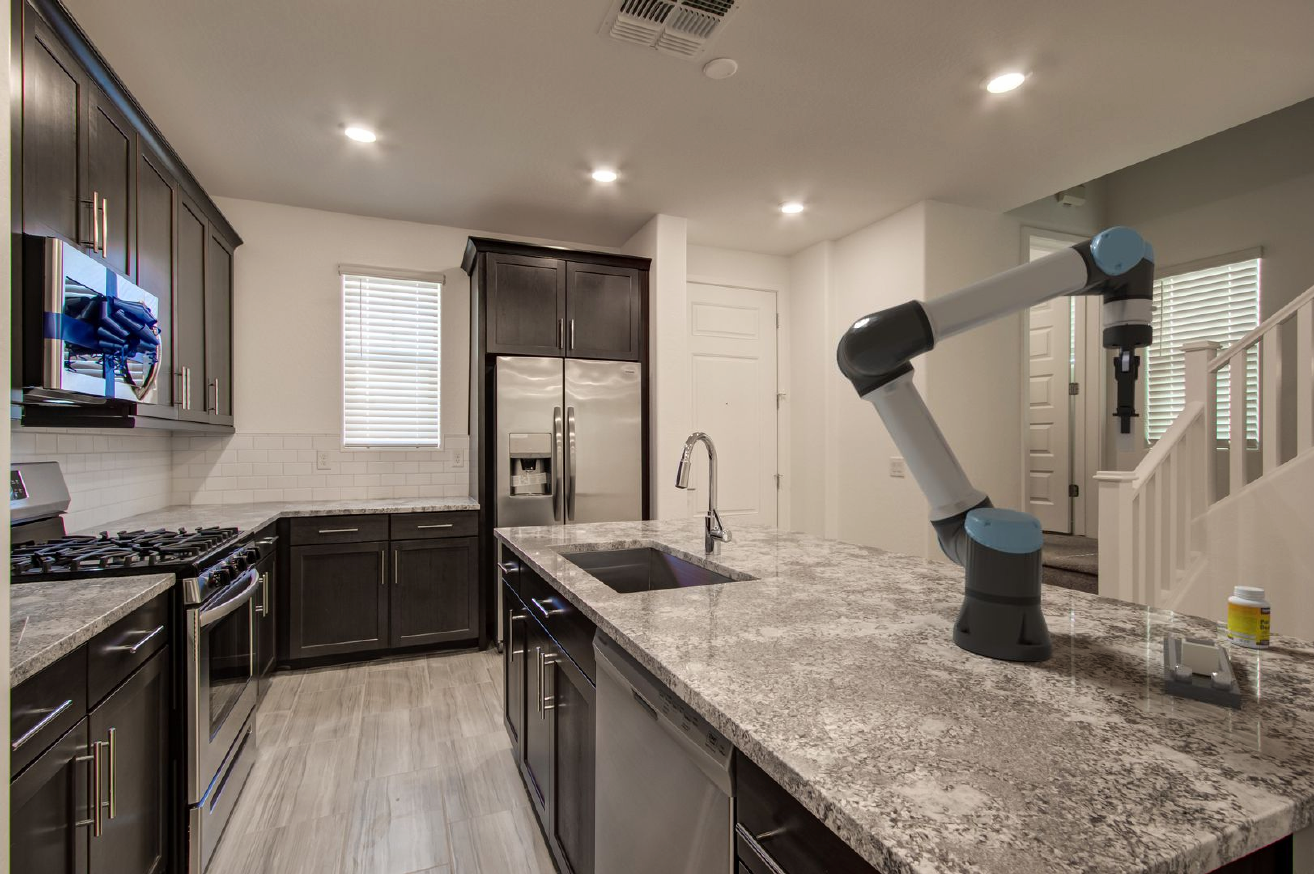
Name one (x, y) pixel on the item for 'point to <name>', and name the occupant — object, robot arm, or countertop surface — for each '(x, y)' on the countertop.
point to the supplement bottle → (1249, 618)
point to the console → (1199, 678)
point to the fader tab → (1200, 655)
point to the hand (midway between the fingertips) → (1125, 451)
